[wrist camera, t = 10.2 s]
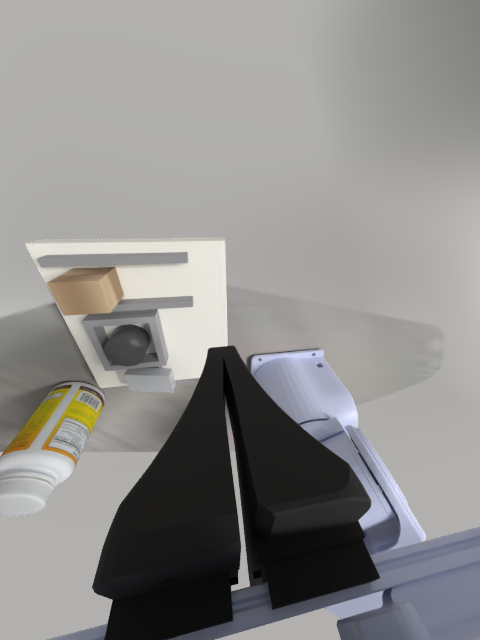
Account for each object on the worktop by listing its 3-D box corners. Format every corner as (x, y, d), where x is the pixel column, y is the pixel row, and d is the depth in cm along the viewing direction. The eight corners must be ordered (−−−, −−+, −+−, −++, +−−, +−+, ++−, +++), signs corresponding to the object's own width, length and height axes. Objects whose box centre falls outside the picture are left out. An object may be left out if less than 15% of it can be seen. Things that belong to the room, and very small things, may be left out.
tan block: (115, 267, 16) (98, 280, 13) (124, 295, 17) (110, 312, 14) (72, 268, 15) (46, 282, 13) (85, 297, 16) (63, 315, 14)
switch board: (223, 237, 17) (226, 244, 15) (227, 365, 25) (229, 383, 23) (39, 239, 15) (8, 247, 13) (105, 377, 23) (94, 399, 21)
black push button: (146, 323, 18) (140, 336, 17) (153, 350, 20) (148, 364, 18) (107, 325, 18) (98, 339, 16) (118, 353, 19) (110, 368, 18)
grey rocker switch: (172, 368, 20) (168, 376, 19) (175, 384, 21) (172, 392, 21) (128, 367, 20) (123, 374, 19) (134, 383, 21) (130, 391, 21)
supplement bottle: (51, 406, 24) (-33, 522, 16) (53, 374, 22) (-43, 490, 13) (103, 412, 26) (54, 519, 18) (110, 384, 24) (58, 491, 15)
